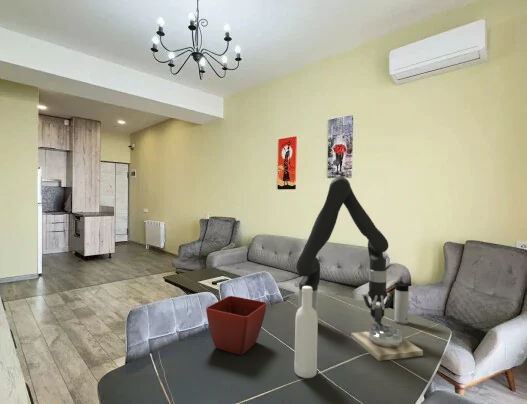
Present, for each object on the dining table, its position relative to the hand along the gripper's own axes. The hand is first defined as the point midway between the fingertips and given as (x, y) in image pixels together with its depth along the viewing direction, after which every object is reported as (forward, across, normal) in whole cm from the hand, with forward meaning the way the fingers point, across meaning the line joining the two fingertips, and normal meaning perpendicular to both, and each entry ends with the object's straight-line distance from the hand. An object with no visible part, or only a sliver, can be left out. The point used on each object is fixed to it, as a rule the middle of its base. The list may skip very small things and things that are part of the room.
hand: (377, 316), depth 136 cm
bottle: (+8, -37, -32) cm, 50 cm away
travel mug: (+9, +18, +15) cm, 25 cm away
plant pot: (+8, -63, -14) cm, 65 cm away
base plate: (+8, -1, -11) cm, 14 cm away
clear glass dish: (+6, -1, -8) cm, 10 cm away
